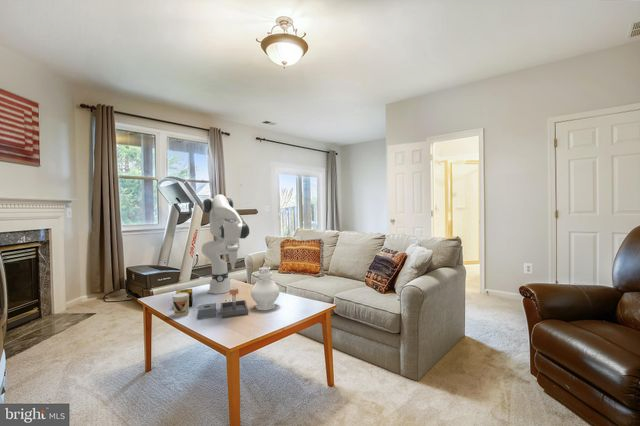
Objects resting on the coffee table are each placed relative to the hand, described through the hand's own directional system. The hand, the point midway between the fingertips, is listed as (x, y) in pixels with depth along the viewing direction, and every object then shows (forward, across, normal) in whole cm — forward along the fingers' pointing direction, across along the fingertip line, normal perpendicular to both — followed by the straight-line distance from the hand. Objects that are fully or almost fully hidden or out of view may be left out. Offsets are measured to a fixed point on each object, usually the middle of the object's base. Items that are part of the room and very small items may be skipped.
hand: (232, 268), depth 188 cm
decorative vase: (+27, -1, +20) cm, 33 cm away
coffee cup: (+27, -7, -30) cm, 41 cm away
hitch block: (+27, 0, -15) cm, 31 cm away
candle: (+27, -24, -30) cm, 47 cm away
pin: (+26, 0, 0) cm, 26 cm away
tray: (+27, 0, 0) cm, 27 cm away
